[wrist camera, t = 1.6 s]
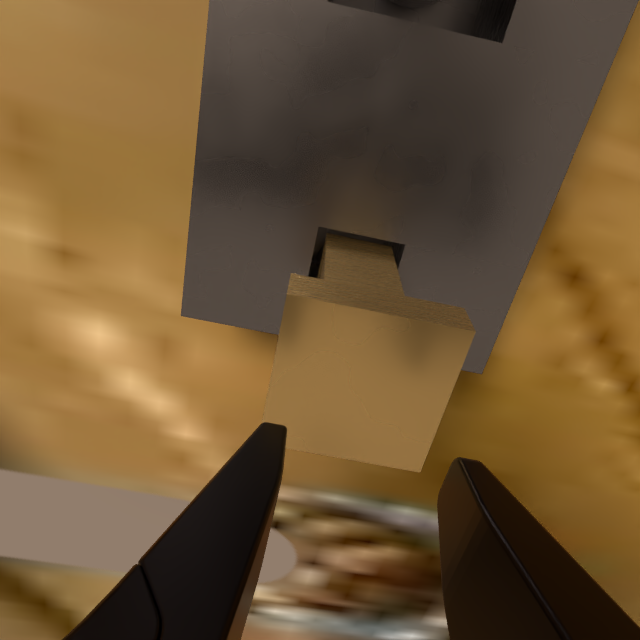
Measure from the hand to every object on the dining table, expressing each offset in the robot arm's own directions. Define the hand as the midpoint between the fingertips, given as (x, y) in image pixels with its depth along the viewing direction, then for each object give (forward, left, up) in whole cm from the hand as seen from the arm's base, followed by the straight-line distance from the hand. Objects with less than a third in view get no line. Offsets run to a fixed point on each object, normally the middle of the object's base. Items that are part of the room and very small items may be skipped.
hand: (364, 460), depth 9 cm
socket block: (+5, 0, -13) cm, 14 cm away
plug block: (0, 0, -8) cm, 8 cm away
